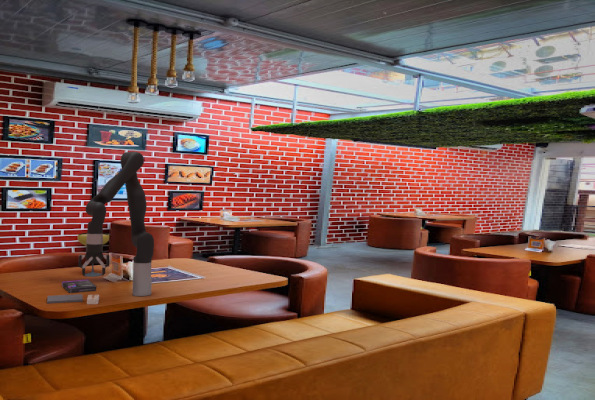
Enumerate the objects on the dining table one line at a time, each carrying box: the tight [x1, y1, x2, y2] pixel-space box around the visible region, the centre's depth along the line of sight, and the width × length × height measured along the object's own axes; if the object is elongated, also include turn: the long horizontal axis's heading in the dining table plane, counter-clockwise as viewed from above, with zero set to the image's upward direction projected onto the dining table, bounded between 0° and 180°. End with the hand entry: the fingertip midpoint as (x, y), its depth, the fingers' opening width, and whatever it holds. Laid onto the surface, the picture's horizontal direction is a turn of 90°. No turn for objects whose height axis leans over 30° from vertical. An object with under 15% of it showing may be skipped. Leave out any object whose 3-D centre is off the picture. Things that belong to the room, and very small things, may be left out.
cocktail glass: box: [77, 232, 110, 278], centre depth 326 cm, size 18×18×25 cm
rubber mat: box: [46, 293, 84, 304], centre depth 264 cm, size 16×12×1 cm
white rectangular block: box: [86, 294, 100, 305], centre depth 261 cm, size 8×5×3 cm, turn 17°
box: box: [61, 278, 97, 294], centre depth 289 cm, size 14×4×20 cm
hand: (93, 275), depth 261 cm, fingers open, 8 cm apart
